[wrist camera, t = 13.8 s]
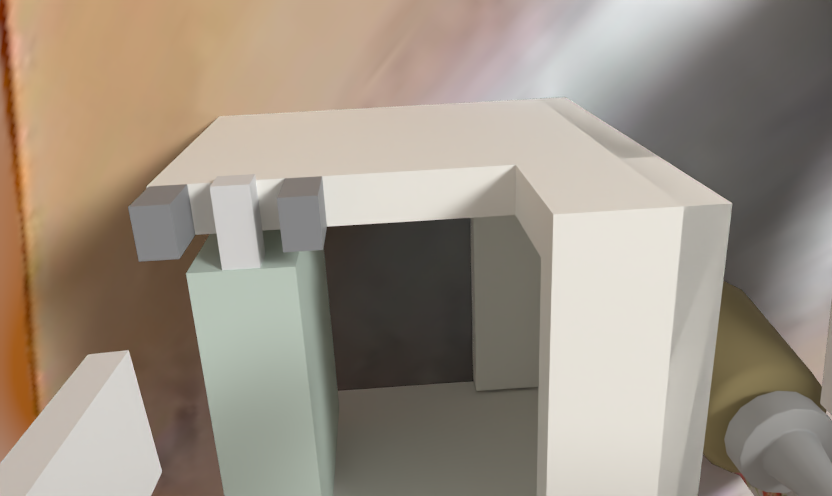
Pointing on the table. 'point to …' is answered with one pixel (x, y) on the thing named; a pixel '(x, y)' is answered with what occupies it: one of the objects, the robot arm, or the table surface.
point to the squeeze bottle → (765, 406)
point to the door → (264, 352)
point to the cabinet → (499, 287)
